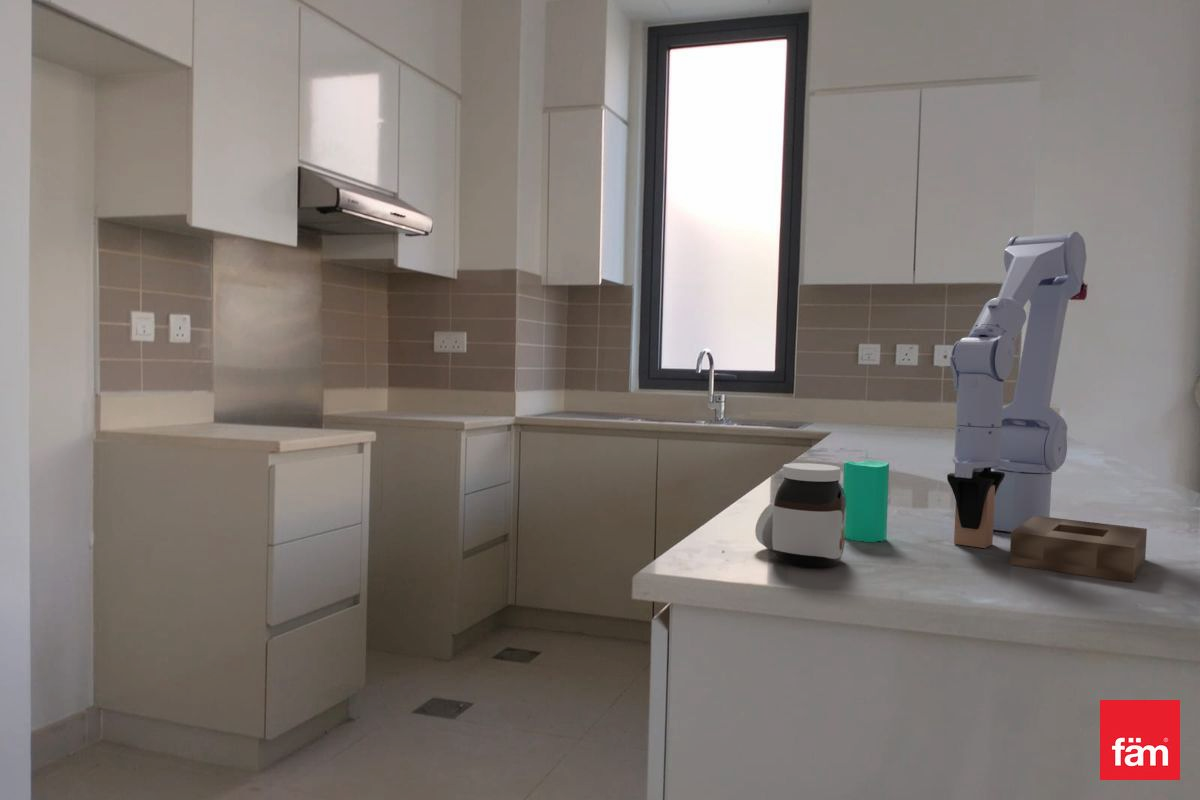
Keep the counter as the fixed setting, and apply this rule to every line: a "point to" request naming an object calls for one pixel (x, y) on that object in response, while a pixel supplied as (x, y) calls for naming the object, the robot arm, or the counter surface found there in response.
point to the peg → (985, 531)
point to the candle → (866, 500)
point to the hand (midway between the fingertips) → (974, 525)
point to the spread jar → (806, 517)
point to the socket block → (1079, 547)
